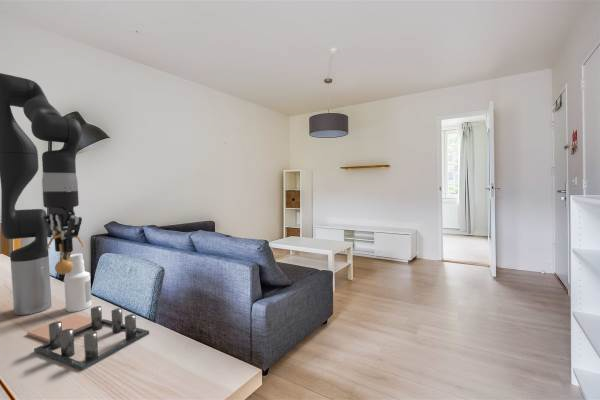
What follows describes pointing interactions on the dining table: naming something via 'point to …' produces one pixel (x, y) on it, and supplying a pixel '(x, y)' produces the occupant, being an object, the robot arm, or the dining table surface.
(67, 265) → the figurine
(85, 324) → the terracotta tile
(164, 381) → the dining table surface
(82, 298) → the white piece
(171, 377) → the dining table surface
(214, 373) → the dining table surface
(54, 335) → the standoff field
